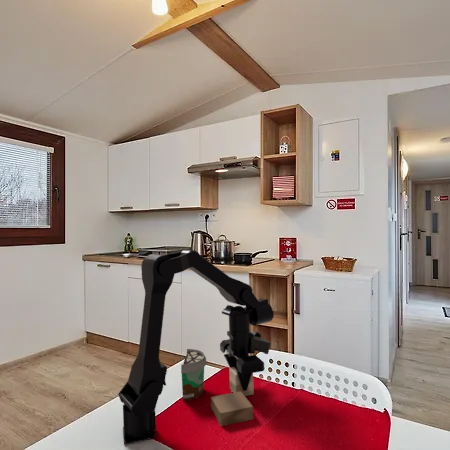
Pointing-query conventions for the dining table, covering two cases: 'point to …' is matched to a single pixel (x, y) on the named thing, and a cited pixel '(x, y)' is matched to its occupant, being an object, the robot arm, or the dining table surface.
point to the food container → (193, 374)
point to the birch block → (236, 385)
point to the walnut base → (231, 408)
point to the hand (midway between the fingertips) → (241, 386)
